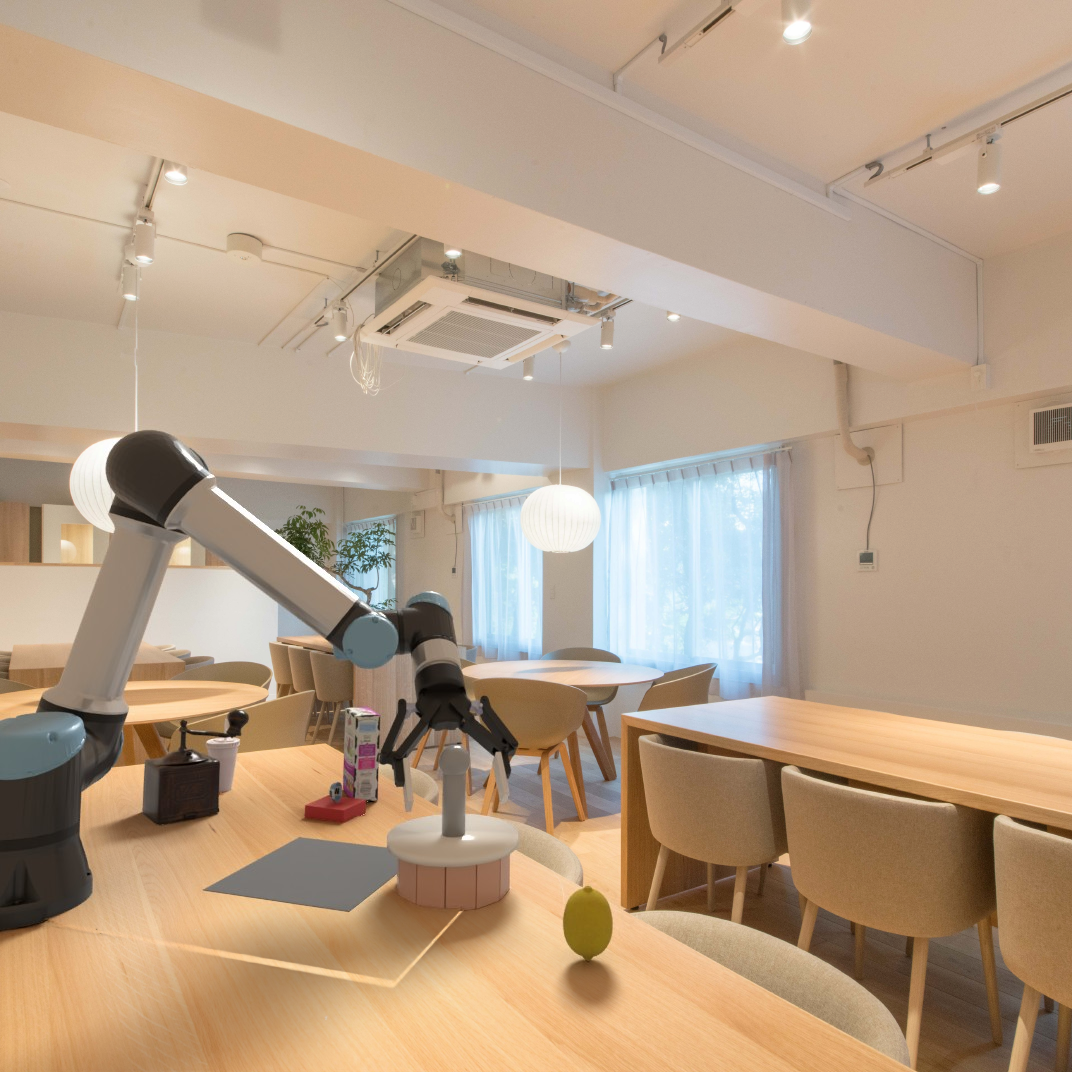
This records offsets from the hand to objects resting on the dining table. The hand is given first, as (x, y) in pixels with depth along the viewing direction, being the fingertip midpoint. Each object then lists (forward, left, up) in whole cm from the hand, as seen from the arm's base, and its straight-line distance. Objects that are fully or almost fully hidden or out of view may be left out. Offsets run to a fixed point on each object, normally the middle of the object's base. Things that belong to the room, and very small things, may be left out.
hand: (458, 802), depth 102 cm
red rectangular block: (+25, +33, -13) cm, 43 cm away
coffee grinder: (+20, +59, -12) cm, 64 cm away
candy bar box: (+38, +36, -12) cm, 54 cm away
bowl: (+2, +1, -12) cm, 12 cm away
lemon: (-12, -21, -12) cm, 27 cm away
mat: (+1, +21, -12) cm, 25 cm away
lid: (+2, +2, -6) cm, 7 cm away
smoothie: (+33, +64, -12) cm, 73 cm away
